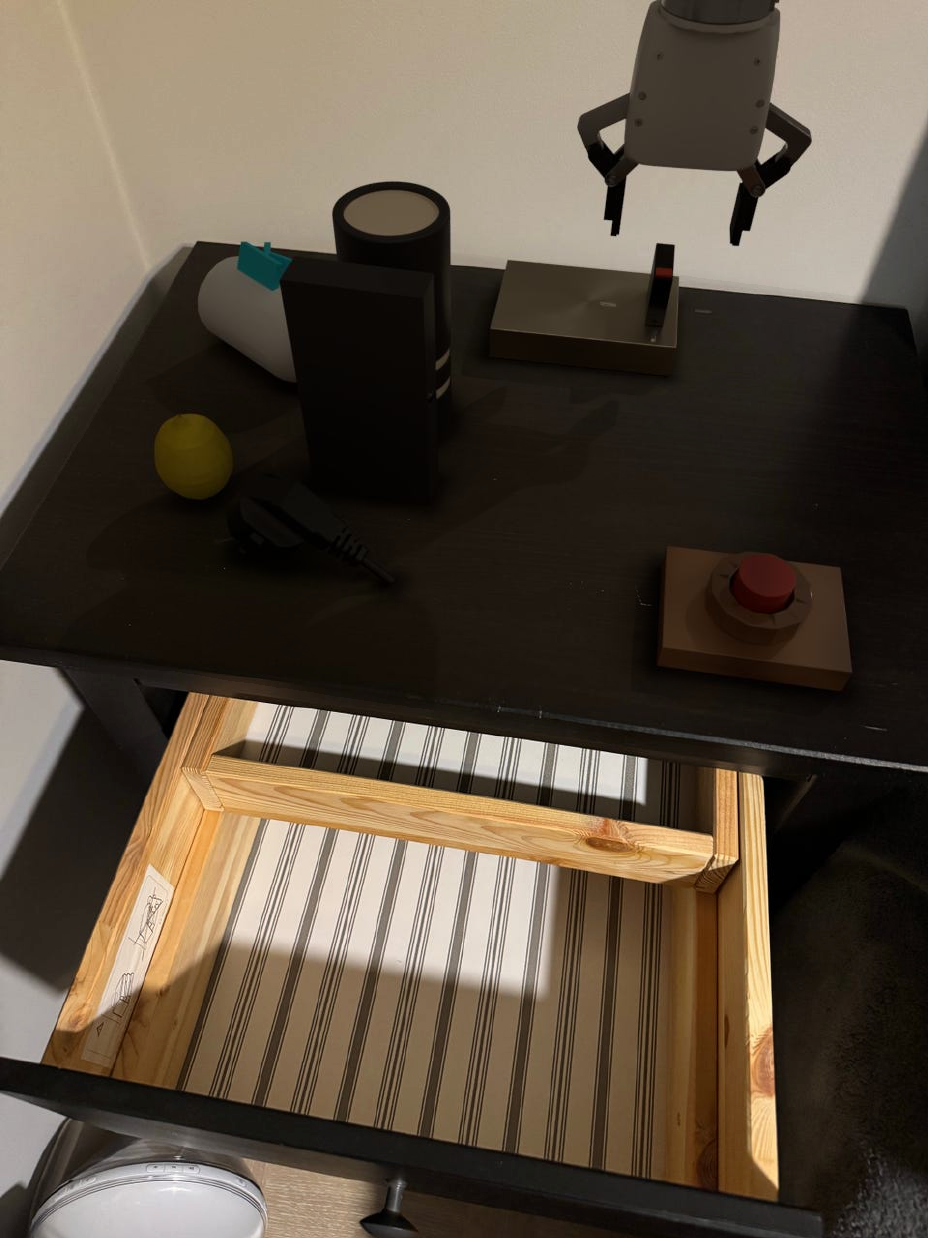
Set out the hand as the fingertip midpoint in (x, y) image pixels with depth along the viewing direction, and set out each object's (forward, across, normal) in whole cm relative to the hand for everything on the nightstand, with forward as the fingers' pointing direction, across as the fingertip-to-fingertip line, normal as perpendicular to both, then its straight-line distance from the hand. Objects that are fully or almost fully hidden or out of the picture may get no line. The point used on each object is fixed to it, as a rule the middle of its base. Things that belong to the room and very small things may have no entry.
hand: (674, 232), depth 74 cm
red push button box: (+11, -8, +32) cm, 34 cm away
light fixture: (+10, +20, +17) cm, 29 cm away
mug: (+10, +32, +7) cm, 34 cm away
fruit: (+10, +34, +26) cm, 44 cm away
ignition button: (+7, -8, +32) cm, 33 cm away
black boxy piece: (+7, 0, 0) cm, 7 cm away
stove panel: (+10, +5, 0) cm, 11 cm away
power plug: (+11, +23, +31) cm, 40 cm away
